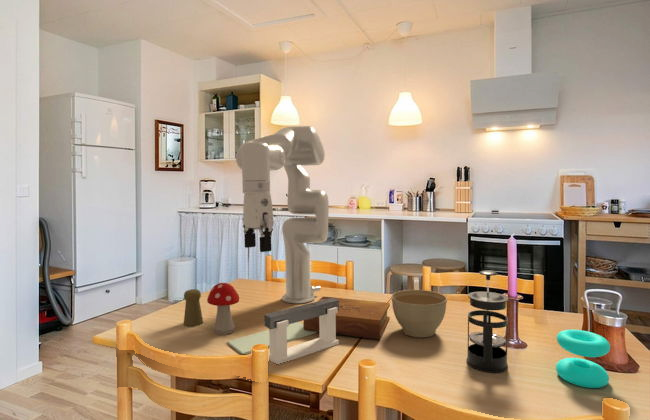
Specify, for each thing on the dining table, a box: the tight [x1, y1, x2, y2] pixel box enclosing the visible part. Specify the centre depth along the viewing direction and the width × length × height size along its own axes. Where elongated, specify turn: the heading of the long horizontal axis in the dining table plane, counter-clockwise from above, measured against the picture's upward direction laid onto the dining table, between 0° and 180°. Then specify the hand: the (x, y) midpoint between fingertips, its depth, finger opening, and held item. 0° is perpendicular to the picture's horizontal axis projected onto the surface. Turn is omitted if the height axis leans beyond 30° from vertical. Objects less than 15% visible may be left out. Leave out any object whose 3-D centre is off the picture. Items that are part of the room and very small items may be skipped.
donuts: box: [555, 328, 611, 389], centre depth 87 cm, size 10×10×10 cm
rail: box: [263, 297, 339, 330], centre depth 104 cm, size 22×3×3 cm, turn 128°
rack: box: [268, 307, 340, 365], centre depth 104 cm, size 20×5×10 cm, turn 128°
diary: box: [303, 296, 391, 340], centre depth 122 cm, size 23×19×6 cm
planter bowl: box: [390, 289, 448, 338], centre depth 116 cm, size 16×16×11 cm
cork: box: [183, 288, 204, 328], centre depth 126 cm, size 6×6×11 cm
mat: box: [226, 322, 318, 355], centre depth 113 cm, size 24×10×1 cm, turn 128°
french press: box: [466, 270, 509, 374], centre depth 94 cm, size 12×9×23 cm
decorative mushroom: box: [206, 282, 240, 335], centre depth 118 cm, size 10×9×15 cm
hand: (257, 249), depth 108 cm, fingers open, 9 cm apart
